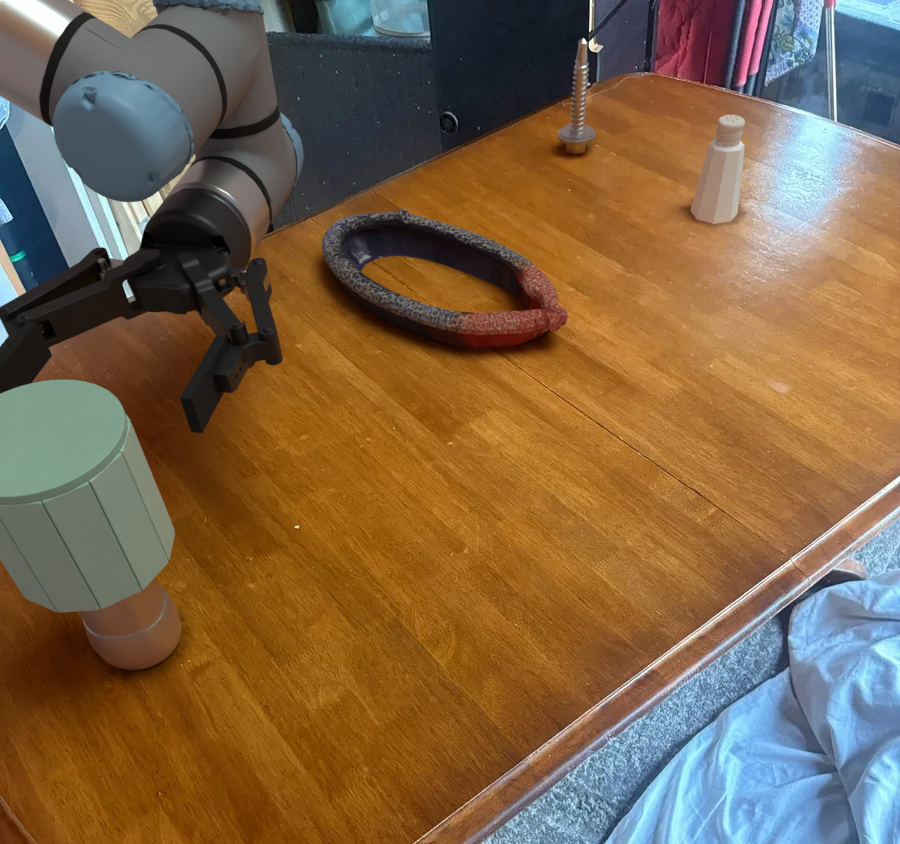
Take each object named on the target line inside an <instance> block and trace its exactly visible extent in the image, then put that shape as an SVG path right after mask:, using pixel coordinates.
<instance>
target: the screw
mask: <svg viewBox="0 0 900 844" xmlns="http://www.w3.org/2000/svg"><path fill="white" fill-rule="evenodd" d="M577 41H578V42H577V54H576V59H575V60H574V63H575V65H574V66H573V68H574V70H573V71H572V73H573V74H574V75H573V76H572V79H573V81H572V84H573V86H572V87H571V89H572V90H573V91H572V92H571V94H572V97H571V100H572V102H570V104H571V107H570V109H571V111H570V115H571V117H569V118H570V120H571V121H570V122H569V124H566V125H564V126H562V127H561V128H560V129H559V130H558V131H557V139H558V140H559V141H560V142H562V143H564V144H565V153H566V154H569V155H573V156H577V155H581V154H584V153H586V145H587V144H589V143H591V142H593V141H595V139H596V137H597V133H596V131H595V129H593V127H592V126H590V125H587V124H585V122H586V120H585V119H586V111H587V110H586V108H587V97H588V94H587V92H588V86H589V85H588V82H589V78H588V77H589V75H590V74H589V71H590V68H589V65H590V62H588V46H589V44H588V43H589V42H588V41H587V40H586V38H584V37H582V38H580V39H579V40H577Z"/></svg>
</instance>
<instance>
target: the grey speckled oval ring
mask: <svg viewBox="0 0 900 844" xmlns="http://www.w3.org/2000/svg"><path fill="white" fill-rule="evenodd" d="M321 249H322V254H323V258H324V260H325V262H326V264H327V266H328V268H329V269H330V270H331V272H332V273H333V275H334V276H335V278H336V280H337V281H338V282H339V284H340V285H341V286H342V287H343V288H344V290H345V291H346V292H347V293H348V294H349V295H350V296H351V297H352V298H353V299H354V300H355V301H357V303H359V304H360V305H361V306H362V307H364V308H365V309H366V310H367V311H369V312H371V313H372V314H374V315H375V316H377V317H379V318H381V319H383V320H384V321H386V322H388V323H390V324H392V325H394V326H397V327H398V328H401V329H403V330H406V331H408V332H410V333H413V334H415V335H417V336H421V337H423V338H426V339H428V340H432V341H435V342H439V343H442V344H447V345H452V346H457V347H463V348H474V349H477V348H478V349H479V348H480V349H481V348H495V347H499V348H508V347H516V346H519V345H522V344H524V343H527V342H529V341H532V340H534V339H536V338H539V337H541V336H543V335H545V333H547V332H548V331H549V332H550V333H556V332H557V331H559V330H560V328H561V326H565V325H566V324H567V321H568V318H569V316H568V310H567V309H565V308H563V307H562V306H560V305H559V296H558V293H557V289H556V287H555V286H554V284H553V283H552V281H551V280H550V279H549V277H548V276H547V275H546V274H545V273H544V272H543V271H542V270H541V269H540V268H539V267H538V266H537V265H536V264H535V263H533V262H532V261H531V260H529V259H528V258H527V257H525V256H524V255H522V254H520V253H519V252H516V251H515V250H513V249H511V248H510V247H507V246H506V245H504V244H501V243H499V242H497V241H495V240H494V239H493V240H492V239H491V238H488V237H486V236H483V235H481V234H479V233H476V232H474V231H471V230H468V229H465V228H462V227H458V226H455V225H452V224H449V223H446V222H441V221H438V220H435V219H431V218H427V217H423V216H420V215H416V214H413V213H410V212H409V211H408V209H406V208H399V209H398V210H397V211H390V212H386V211H385V212H369V213H368V212H366V213H359V214H353V215H349V216H345V217H343V218H340V219H338V220H336V221H335V222H333V223H332V224H331V225H330V226H329V227H328V228H327V229H326V231H325V233H324V235H323V237H322V239H321ZM387 257H406V258H408V257H409V258H416V259H421V260H425V261H429V262H433V263H436V264H439V265H442V266H445V267H448V268H451V269H455V270H457V271H459V272H462V273H465V274H467V275H470V276H472V277H474V278H477V279H479V280H482V281H484V282H486V283H489V284H491V285H494V286H496V287H499V288H501V289H503V290H505V291H507V292H509V293H511V294H513V295H514V296H515V297H516V298H518V300H520V301H521V302H522V305H523V306H524V310H512V311H490V312H472V311H470V312H469V311H460V310H453V309H447V308H442V307H438V306H434V305H430V304H427V303H424V302H421V301H418V300H415V299H412V298H410V297H407V296H405V295H403V294H400V293H398V292H396V291H394V290H391V289H390V288H387V287H385V286H384V285H382V284H381V283H378V282H377V281H375V280H373V279H372V278H370V277H368V276H367V275H366V274H365V273H363V272H362V270H363V268H364V267H365V266H366V265H368V264H369V263H371V262H373V261H375V260H378V259H382V258H387Z"/></svg>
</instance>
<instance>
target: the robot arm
mask: <svg viewBox="0 0 900 844" xmlns="http://www.w3.org/2000/svg"><path fill="white" fill-rule="evenodd" d="M151 2H152V5H153V7H154V8H155V9H156V10H155V11H156V13H157V15H156V16H155V17H154V18H152V19H151V20H150V21H149V22H148V23H147V24H145V25H144V26H143V27H142V28H140V30H138V31H136V33H135V34H134V35H132V36H131V37H129V36H128V35H126V34H125V33H123V32H121V31H120V30H118V29H117V28H115V27H113V26H112V25H110V24H108V23H107V22H105V21H103V20H102V19H99V18H98V17H96V15H93V14H92V13H90V12H89V11H87V10H85V9H84V8H82V7H81V6H79V5H78V4H76V3H75V2H73V1H72V0H0V97H1V98H2V99H4V100H6V101H8V102H10V103H11V104H13V105H15V106H16V107H18V108H19V109H21V110H23V111H25V112H26V113H28V114H30V115H31V116H33V117H34V118H36V119H38V120H39V121H41V122H43V123H44V124H47V125H48V126H49V127H51V128H52V130H53V137H54V142H55V144H56V148H57V149H58V151H59V153H60V155H61V158H62V160H63V161H64V163H65V164H66V166H67V167H68V168H70V169H72V170H73V171H74V172H75V173H76V175H77V176H78V177H79V178H80V179H81V182H82V183H83V184H84V185H85V187H87V188H88V189H90V190H91V191H93V192H95V193H96V194H98V195H99V196H101V197H104V198H106V199H108V200H112V201H115V202H121V203H138V202H141V201H145V200H147V199H149V198H151V197H153V196H155V194H157V193H158V192H159V191H160V190H161V189H163V188H164V187H166V185H168V184H169V183H170V182H171V181H173V180H175V179H176V178H177V177H178V176H179V175H181V174H182V173H183V172H184V170H185V169H186V167H187V165H189V164H190V162H191V160H192V158H193V157H194V155H195V157H194V158H195V159H194V160H193V161H192V163H191V164H190V165H189V167H188V168H187V169H186V171H185V173H184V174H183V175H182V176H181V177H180V179H179V180H178V181H177V183H176V184H175V185H174V186H173V187H172V188H171V190H170V191H169V193H168V194H167V196H166V197H165V198H164V200H163V201H162V202H161V204H160V205H159V207H158V208H157V209H156V210H155V212H153V214H152V216H151V217H150V218H149V219H148V221H147V222H146V224H145V227H144V230H143V232H142V236H141V240H140V244H139V248H138V250H136V251H135V252H134V253H131V254H129V255H128V256H127V257H125V259H118V258H110V256H109V253H108V250H107V248H106V247H103V246H100V247H99V246H98V247H95V248H93V249H92V250H90V251H89V252H88V253H87V254H86V255H85V256H84V257H83V258H82V259H81V260H80V261H78V262H77V263H75V264H73V265H72V266H70V267H68V268H66V269H65V270H63V271H61V272H60V273H58V274H56V275H53V276H52V277H50V278H49V279H47V280H45V281H43V282H41V283H40V284H38V285H36V286H35V287H33V288H31V289H29V290H27V291H26V292H24V293H22V294H21V295H19V296H17V297H15V298H13V299H12V300H10V301H8V302H6V303H5V304H2V305H1V306H0V322H1V324H2V326H3V328H4V330H5V332H6V334H7V337H6V338H5V339H4V341H3V342H2V343H1V344H0V394H1V393H3V392H6V391H8V390H11V389H14V388H17V387H20V386H23V385H27V384H31V383H34V380H35V379H36V378H37V376H38V375H39V374H40V372H41V371H42V370H43V369H44V367H45V365H47V363H48V362H49V361H50V359H51V358H52V357H53V354H52V352H51V350H50V348H51V347H53V346H55V345H57V344H60V343H63V342H65V341H67V340H70V339H72V338H74V337H76V336H79V335H81V334H84V333H86V332H88V331H91V330H93V329H95V328H98V327H100V326H102V325H104V324H107V323H110V322H111V321H113V320H117V319H118V318H124V319H125V320H132V319H134V318H137V317H139V316H140V315H144V314H146V313H164V312H165V313H166V312H167V313H171V314H174V315H183V316H184V315H187V313H191V312H196V313H197V314H198V315H199V317H200V319H201V320H202V321H203V323H204V325H206V326H209V327H210V329H211V330H212V332H213V333H214V335H215V336H214V338H213V340H212V341H211V343H210V345H209V346H208V348H207V350H206V352H205V354H204V355H203V357H202V358H201V360H200V362H199V364H198V366H197V367H196V369H195V370H194V372H193V374H192V375H191V378H190V379H189V381H188V382H187V384H186V386H185V388H184V389H183V391H182V393H181V395H180V396H179V400H180V403H181V406H182V409H183V412H184V415H185V418H186V421H187V424H188V427H189V430H190V433H198V434H203V433H204V431H205V429H206V427H207V426H208V423H209V422H210V420H211V418H212V416H213V414H214V413H215V410H216V409H217V406H218V405H219V403H220V401H221V399H222V397H224V396H223V395H224V394H233V393H234V392H235V391H237V390H238V388H239V387H240V384H241V382H242V381H243V379H244V377H245V375H246V373H247V371H248V369H251V368H253V367H254V366H255V364H256V363H257V362H262V361H263V362H264V361H265V363H266V365H268V366H276V365H280V364H281V363H282V362H283V360H284V357H283V352H282V348H281V343H280V339H279V334H278V329H277V325H276V322H275V319H274V315H273V311H272V308H271V305H270V299H271V296H272V293H273V289H272V284H271V280H270V279H271V278H270V275H269V270H268V266H267V260H266V259H265V258H263V257H254V255H255V253H256V252H257V250H258V248H259V246H260V245H261V242H263V240H264V238H265V236H266V234H267V233H268V231H269V230H270V228H271V225H272V223H273V222H274V220H275V219H276V217H277V215H278V214H279V212H280V211H281V210H282V208H283V207H284V206H285V205H286V204H287V202H288V201H289V200H290V199H291V197H292V196H293V194H294V191H295V188H296V186H297V182H298V181H299V178H300V175H301V172H302V170H303V166H304V159H305V158H304V147H303V144H302V143H303V142H302V138H301V136H300V135H299V133H298V132H297V130H296V128H295V127H294V126H293V124H292V122H291V121H290V119H289V118H288V117H287V116H286V115H285V114H283V113H282V112H281V110H280V108H279V103H278V97H277V92H276V90H277V89H276V85H275V79H274V73H273V68H272V67H273V66H272V61H271V56H270V49H269V44H268V38H267V32H266V26H265V25H266V24H265V20H264V15H265V10H264V7H263V6H262V5H261V0H151ZM253 257H254V258H253ZM125 281H126V283H127V285H128V287H129V290H130V291H131V293H132V296H133V298H134V300H132V301H129V299H128V295H127V293H126V290H125V287H124V283H125ZM235 288H238V289H239V292H240V294H242V295H245V298H246V301H247V302H249V303H250V307H251V308H250V309H251V313H252V316H253V319H254V323H255V327H256V330H257V332H250V333H248V329H247V325H246V321H245V320H242V322H241V320H240V319H239V318H238V316H237V315H236V314H235V312H234V311H233V310H232V309H231V307H230V306H229V304H228V303H227V302H226V301H225V299H224V298H225V297H227V296H228V295H229V294H231V293H233V291H234V290H235Z"/></svg>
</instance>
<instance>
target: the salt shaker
mask: <svg viewBox="0 0 900 844" xmlns="http://www.w3.org/2000/svg"><path fill="white" fill-rule="evenodd" d="M745 125H746V119H744V117H742V116H740V115H737V114H726V115H725V114H724V115H722V116H720V117H719V118H718V120H717V129H716V135H715V137H714V139H712V141H711V142H709V144H708V146H707V150H706V154H705V158H704V161H703V165H702V167H701V171H700V175H699V178H698V182H697V185H696V189H695V192H694V196H693V199H692V203H691V206H690V212H691V214H692V215H693V217H694V218H695V219H696V220H698V221H701V222H705V223H707V224H712V225H716V224H723V223H730V222H732V220H733V219H734V218H736V216H738V213H739V205H740V196H741V195H740V194H741V187H742V186H741V185H742V178H743V177H742V176H743V167H744V159H745V144H744V143H743V141H742V136H743V132H744V127H745Z"/></svg>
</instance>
